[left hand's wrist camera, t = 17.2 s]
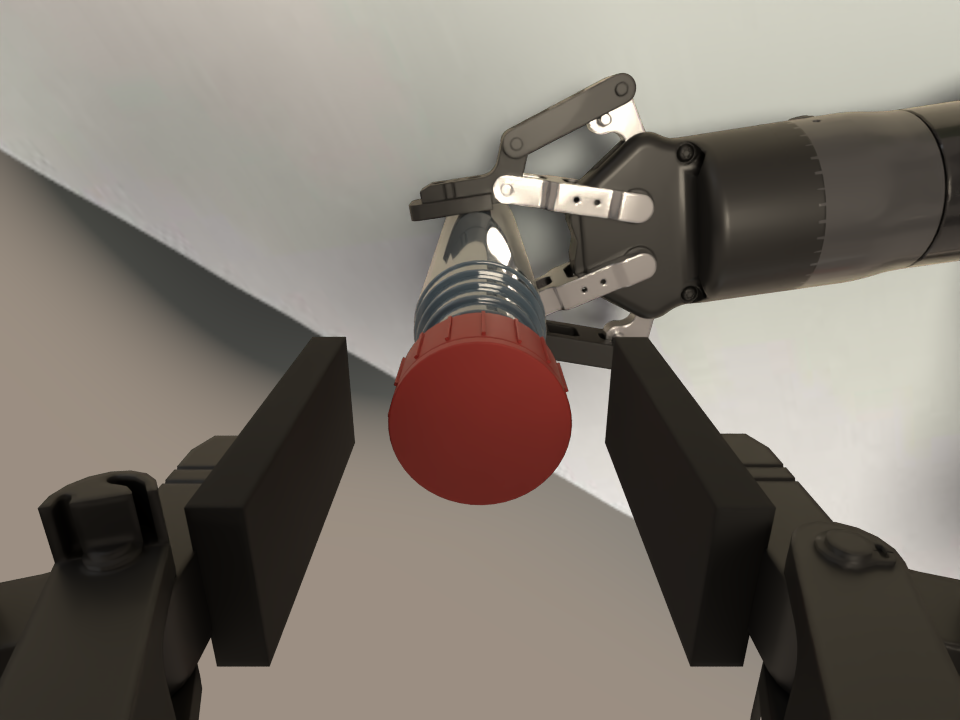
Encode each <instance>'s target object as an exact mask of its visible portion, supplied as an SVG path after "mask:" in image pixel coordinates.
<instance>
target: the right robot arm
mask: <svg viewBox="0 0 960 720" xmlns="http://www.w3.org/2000/svg"><path fill="white" fill-rule="evenodd" d="M635 92H636V83H635V81H634V79H633V78H632V77H631V76H630V75H629V74H626V73H619V74H616V75H612V76H609V77H606V78H604V79H602V80H600V81H598V82H596V83H594V84H593V85H591V86H589V87H587V88H585V89H583V90H581V91H579V92H577V93H576V94H574V95H572V96H570V97H568V98H566V99H564V100H562V101H560V102H559V103H557V104H555V105H553V106H551V107H549V108H547V109H545V110H543V111H542V112H540V113H538V114H536V115H534V116H532V117H530V118H528V119H526V120H525V121H523V122H521V123H519V124H517V125H515V126H513V127H511V128H509V129H508V130H506V131H505V132H504V133H503V135H502V137H501V143H500V148H499V153H498V158H497V162H496V165H495V166H494V168H493V169H492V170H491V171H490V172H488V173H486V174H483V175H477V176H471V177H464V178H458V179H451V180H445V181H438V182H432V183H431V184H429V185H427V186H426V187H424V188H423V189H422V190H421V191H420V195H421V199H418V200H414V201H412V202H411V203H410V204H409V209H410V214H411V219H412V221H421V220H428V219H435V218H441V217H448V216H455V215H461V214H468V213H473V212H481V211H488V210H493V204H498V203H505V204H512V205H520V206H528V207H535V208H542V209H546V210H549V211H555V212H562V213H565V218H566V222H567V224H568V227H569V230H570V232H571V241H570V247H569V260H570V261H569V262H567V263H564V264H562V265H560V266H557V267H555V268H553V269H551V270H550V271H548V273H546V274H545V275H543V276H541V277H538V278H536V279H535V281H536V284H537V287H538V290H539V293H540V296H541V299H542V302H543V306H544V310H545V316H547V315H549V314H552V313H554V312H556V311H559V310H569V309H572V308H575V307H577V306H580V305H582V304H584V303H587V302H589V301H591V300H594V299H596V298H599V297H602V298H604V299H606V300H607V301H609V302H611V303H613V304H615V305H617V306H619V307H621V308H623V309H625V310H627V311H628V312H630V314H629V315H628V316H627V317H626V318H625V319H622V320H613V321H610V322H608V323H607V324H606V325H605V326H604V328H603V329H598V328H592V327H586V326H580V325H574V324H568V323H562V322H556V321H550V320H546V341H545V342H546V345H547V346H548V347H549V349H550V350H551V352H552V354H553V356H554V358H555V360H557V361H563V362H569V363H575V364H581V365H588V366H594V367H600V368H606V369H611V367H612V355H613V343H614V337H649V334H650V330H651V327H652V323H653V320H654V319H655V318H658V317H661V316H663V315H664V314H666V313H667V312H669V311H670V310H672V309H673V308H675V307H678V306H680V305H683V304H689V303H701V302H708V301H715V300H723V299H730V298H737V297H744V296H751V295H758V294H765V293H773V292H780V291H787V290H794V289H801V288H808V287H815V286H822V285H829V284H837V283H843V282H849V281H854V280H858V279H862V278H866V277H869V276H873V275H876V274H880V273H883V272H887V271H892V270H898V269H904V268H911V267H918V266H925V265H932V264H939V263H947V262H954V261H960V100H957V101H951V102H944V103H938V104H932V105H925V106H919V107H912V108H906V109H899V110H892V111H878V112H844V113H835V114H828V115H822V116H799V117H795V118H792V119H789V120H788V121H783V122H776V123H770V124H763V125H757V126H751V127H744V128H738V129H731V130H725V131H718V132H712V133H705V134H699V135H692V136H686V137H679V138H666V137H663V136H661V135H659V134H656V133H653V132H645V130H644V127H643V124H642V122H641V119H640V116H639V114H638V111H637V108H636V106H635V103H634V100H633V97H634V95H635ZM584 125H586V126H587V128H588V129H589V130H590V131H591V132H593V133H596V134H606V133H609V132H614V133H616V134H617V135H618V136H619V137H620V139H621V141H620V142H619V143H618V144H617V145H616V146H615V147H614V148H613V149H611V150H610V151H609V152H608V153H607V154H606V155H605V156H604V157H603V158H602V159H601V160H600V161H599V162H598V163H597V164H596V165H595V166H594V167H593V168H592V169H591V170H590V171H589V172H588V173H586V174H585V175H584V176H583V177H582V178H581V179H573V178H565V177H558V176H550V175H536V174H529V173H524V169H525V165H526V160H527V156H528V154H530V153H532V152H534V151H536V150H538V149H540V148H542V147H544V146H545V145H547V144H549V143H551V142H553V141H555V140H557V139H559V138H561V137H563V136H565V135H567V134H569V133H571V132H572V131H574V130H576V129H578V128H580V127H582V126H584ZM573 273H574V274H573ZM583 287H584V288H585V289H582V288H583Z"/></svg>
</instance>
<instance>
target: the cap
mask: <svg viewBox="0 0 960 720" xmlns="http://www.w3.org/2000/svg"><path fill="white" fill-rule="evenodd" d="M394 385H395V386H396V389H395V392H394V395H393V398H392V402H391V405H390V409H389V412H388V429H389V436H390V441H391V444H392V447H393V450H394V452H395V455H396V457H397V459H398V460H399V462H400V464H401V465H402V467H403V468H404V469H405V471H406V472H407V473H408V474H409V475H410V476H411V478H413V479H414V480H415V481H416V482H417V483H418V484H419V485H421V486H422V487H424V488H425V489H427V490H428V491H430V492H432V493H433V494H435V495H437V496H439V497H442V498H444V499H447V500H450V501H454V502H458V503H463V504H470V505H489V504H497V503H502V502H507V501H510V500H513V499H516V498H518V497H521V496H523V495H525V494H527V493H529V492H530V491H532V490H534V489H535V488H537V487H538V486H539V485H541V484H542V483H543V482H544V481H545V480H546V479H547V478H548V477H549V476H550V475H551V474H552V473H553V472H554V471H555V469H556V468H557V467H558V466H559V464H560V462H561V460H562V459H563V457H564V455H565V453H566V450H567V448H568V445H569V441H570V437H571V429H572V417H571V410H570V405H569V401H568V398H567V395H566V392H568V388H567V385H566V382H565V379H564V375H563V372H562V369H561V366H560V363H556V360H555V358H554V356H553V354H552V352H551V350H550V349H549V347H548V346H547V345H546V342H545V339H544V337H543V336H542V337H541V338H540V337H539V336H538V334H536V333H535V332H534V331H533V330H531V329H530V328H529V327H527V326H525V325H524V324H522V323H521V322H519V321H518V319H516V318H515V319H512V318H509V317H506V316H502V315H498V314H492V313H485V311H481V313H467V314H462V315H458V316H454V317H452V316H449V317H448V319H446V320H444V321H442V322H440V323H438V324H436V325H435V326H433V327H432V328H430V329H429V330H427V331H426V332H425V333H423V332H422V333H421V334H420V336H419V339H418V340H417V341H416V342H415V343H414V345H413V346H412V348H411V349H410V351H409V352H408V354H407V356H406V358H404V357H403V359H402V361H401V364H400V367H399V371H398V374H397V377H396V380H395V383H394Z"/></svg>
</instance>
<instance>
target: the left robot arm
mask: <svg viewBox="0 0 960 720" xmlns="http://www.w3.org/2000/svg"><path fill="white" fill-rule="evenodd" d="M354 444H355V438H354V426H353V414H352V402H351V391H350V379H349V367H348V355H347V343H346V337H312V339H311V340H310V341H309V342H308V344H307V345H306V347H305V348H304V349H303V350H302V352H301V353H300V354H299V356H298V357H297V358H296V360H295V361H294V362H293V364H292V365H291V366H290V368H289V369H288V370H287V372H286V373H285V374H284V376H283V377H282V378H281V380H280V381H279V382H278V384H277V385H276V386H275V388H274V389H273V390H272V391H271V393H270V394H269V395H268V397H267V398H266V400H265V401H264V402H263V404H262V405H261V406H260V407H259V409H258V410H257V411H256V413H255V414H254V415H253V417H252V418H251V419H250V421H249V422H248V423H247V425H246V426H245V427H244V429H243V430H242V431H241V433H240V434H239V435H238V436H214V437H212V438H210V439H209V440H207V441H205V442H204V443H202V444H200V445H199V446H197V447H196V448H194V449H192V450H191V451H190V452H189V453H188V455H187V456H186V457H185V458H184V459H183V460H182V461H181V463H180V464H179V465H178V466H177V470H174V471H173V472H172V473H171V474H170V475H169V477H168V478H167V479H166V482H165V484H162V485H161V486H160V487H159V488H158V487H157V482H156V480H155V479H154V478H153V477H151V476H150V475H148V474H147V473H142V472H136V471H114V472H108V473H103V474H98V475H94V476H90V477H87V478H84V479H82V480H79V481H76V482H74V483H71V484H69V485H67V486H65V487H63V488H62V489H60V490H58V491H57V492H55V493H53V494H52V495H50V496H49V497H48V498H47V499H46V500H45V501H44V502H43V503H42V504H41V505H40V506H39V508H38V510H39V514H40V517H41V520H42V523H43V526H44V529H45V533H46V536H47V539H48V542H49V545H50V549H51V552H52V555H53V558H54V562H55V564H54V566H53V568H52V570H51V572H49V573H45V574H41V575H36V576H31V577H26V578H21V579H16V580H11V581H6V582H2V583H0V720H199V712H200V703H201V694H202V685H201V678H200V673H199V669H198V664H197V663H198V661H199V659H200V657H201V655H202V653H203V651H204V649H205V648H206V646H207V644H208V642H209V640H210V638H211V640H212V644H213V649H214V654H215V659H216V663H217V666H270V664H271V661H272V659H273V656H274V653H275V651H276V648H277V646H278V643H279V640H280V638H281V635H282V632H283V630H284V627H285V625H286V622H287V619H288V617H289V614H290V611H291V609H292V606H293V604H294V601H295V598H296V596H297V593H298V590H299V588H300V585H301V583H302V580H303V577H304V575H305V572H306V570H307V567H308V564H309V562H310V559H311V556H312V554H313V551H314V549H315V546H316V543H317V541H318V538H319V535H320V533H321V530H322V528H323V525H324V522H325V520H326V517H327V515H328V512H329V509H330V507H331V504H332V501H333V499H334V496H335V494H336V491H337V488H338V486H339V483H340V480H341V478H342V475H343V473H344V470H345V467H346V465H347V462H348V460H349V457H350V454H351V452H352V449H353V446H354ZM605 444H606V446H607V449H608V452H609V454H610V457H611V460H612V462H613V465H614V467H615V470H616V473H617V475H618V478H619V480H620V483H621V486H622V488H623V491H624V494H625V496H626V499H627V501H628V504H629V507H630V509H631V512H632V515H633V517H634V520H635V522H636V525H637V527H638V530H639V533H640V536H641V538H642V541H643V543H644V546H645V549H646V551H647V554H648V556H649V559H650V562H651V564H652V567H653V570H654V572H655V575H656V577H657V580H658V582H659V585H660V588H661V591H662V593H663V596H664V598H665V601H666V604H667V606H668V609H669V611H670V614H671V617H672V619H673V622H674V625H675V627H676V630H677V632H678V635H679V638H680V640H681V643H682V646H683V648H684V651H685V653H686V656H687V659H688V661H689V664H690V666H743V664H744V659H745V654H746V649H747V644H748V640H749V635H750V637H751V638H752V641H753V642H754V644H755V646H756V648H757V650H758V652H759V654H760V656H761V658H762V660H763V664H762V669H761V673H760V678H759V682H758V687H757V691H756V695H755V700H754V704H753V709H752V713H751V719H750V720H760V717H761V719H762V720H960V580H958V579H953V578H948V577H943V576H938V575H933V574H928V573H923V572H918V571H914V570H910V569H908V567H907V565H906V563H905V561H904V560H903V559H902V558H901V556H900V555H899V554H898V553H897V551H896V550H895V549H894V548H893V547H891V546H890V545H888V544H887V543H886V542H884V541H883V540H881V539H880V538H879V537H877V536H875V535H872V534H870V533H868V532H866V531H864V530H861V529H859V528H856V527H853V526H849V525H845V524H841V523H837V522H833V521H832V520H831V519H830V518H829V516H828V515H827V514H826V513H825V512H824V511H823V510H822V508H821V507H820V506H819V505H818V504H817V503H816V502H815V500H814V499H813V498H812V497H811V496H810V495H809V493H808V492H807V491H806V490H805V489H804V488H803V487H802V485H801V484H800V483H799V482H798V481H795V477H794V476H793V475H792V474H791V473H790V472H789V470H788V469H787V468H786V467H783V463H782V462H781V461H780V460H779V459H778V458H777V457H776V455H775V454H774V453H773V452H772V451H771V450H770V449H769V448H768V447H767V446H765V445H763V444H762V443H760V442H758V441H757V440H755V439H753V438H752V437H750V436H748V435H747V434H720V433H719V431H718V430H717V429H716V427H715V426H714V425H713V423H712V422H711V421H710V419H709V418H708V417H707V415H706V414H705V413H704V411H703V410H702V409H701V407H700V406H699V405H698V403H697V402H696V401H695V399H694V398H693V397H692V395H691V394H690V393H689V391H688V390H687V389H686V388H685V386H684V385H683V384H682V382H681V381H680V380H679V378H678V377H677V376H676V374H675V373H674V372H673V370H672V369H671V368H670V366H669V365H668V364H667V362H666V361H665V360H664V358H663V357H662V356H661V354H660V353H659V352H658V350H657V349H656V348H655V346H654V345H653V344H652V342H651V341H650V340H649V338H648V337H614V343H613V355H612V367H611V379H610V391H609V402H608V414H607V426H606V438H605Z"/></svg>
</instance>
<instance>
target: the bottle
mask: <svg viewBox="0 0 960 720" xmlns="http://www.w3.org/2000/svg"><path fill="white" fill-rule="evenodd" d="M481 311H485V313H492V314H498V315H502V316H506V317H509V318H512V319H515V318H516V319H518V321H519V322H521V323H522V324H524V325H525V326H527V327H529V328H530V329H531V330H533V331H534V332H535V333H536V334H538V336H539V337H540V338H541V337H542V336H543V337H544V339H545V341H546V316H545V310H544V306H543V302H542V299H541V296H540V293H539V290H538V287H537V284H536V281H535V278H534V275H533V272H532V269H531V266H530V263H529V260H528V257H527V254H526V251H525V248H524V245H523V242H522V239H521V236H520V233H519V230H518V227H517V224H516V221H515V218H514V215H513V213H512V211H511V209H510V208H509V206H508V205H507V204H505V203H498V204H493V210H488V211H481V212H473V213H468V214H461V215H455V216H448V217H446V219H445V222H444V225H443V228H442V231H441V234H440V237H439V240H438V243H437V246H436V249H435V252H434V255H433V258H432V261H431V264H430V267H429V270H428V273H427V276H426V279H425V282H424V285H423V288H422V291H421V294H420V297H419V300H418V303H417V306H416V311H415V318H414V340H415V342H416V341H417V340H418V339H419V336H420V334H421V333H422V332H423V333H425V332H426V331H427V330H429V329H430V328H432V327H433V326H435V325H436V324H438V323H440V322H442V321H444V320H446V319H448V317H449V316H452V317H454V316H458V315H462V314H467V313H481Z"/></svg>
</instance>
